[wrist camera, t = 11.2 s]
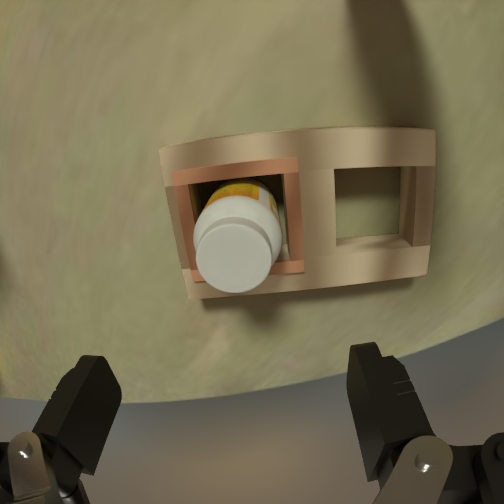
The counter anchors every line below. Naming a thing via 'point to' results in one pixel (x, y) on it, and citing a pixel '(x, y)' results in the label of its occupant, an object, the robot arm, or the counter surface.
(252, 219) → the supplement bottle
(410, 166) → the cup caddy
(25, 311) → the counter surface
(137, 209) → the counter surface
